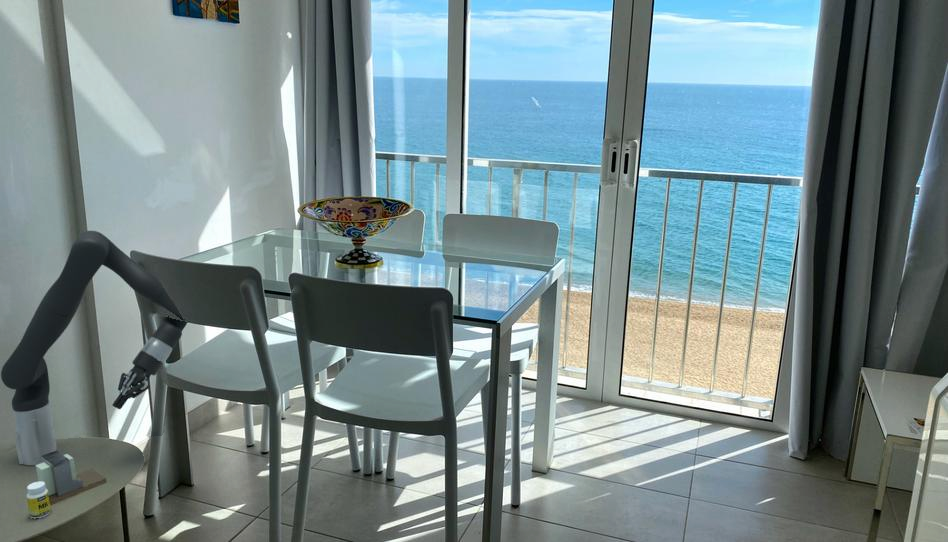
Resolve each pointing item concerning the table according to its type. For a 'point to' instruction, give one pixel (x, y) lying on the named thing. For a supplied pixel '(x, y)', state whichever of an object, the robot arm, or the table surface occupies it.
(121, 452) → the table surface
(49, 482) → the mint green block
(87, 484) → the base
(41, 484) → the supplement bottle
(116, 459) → the table surface
